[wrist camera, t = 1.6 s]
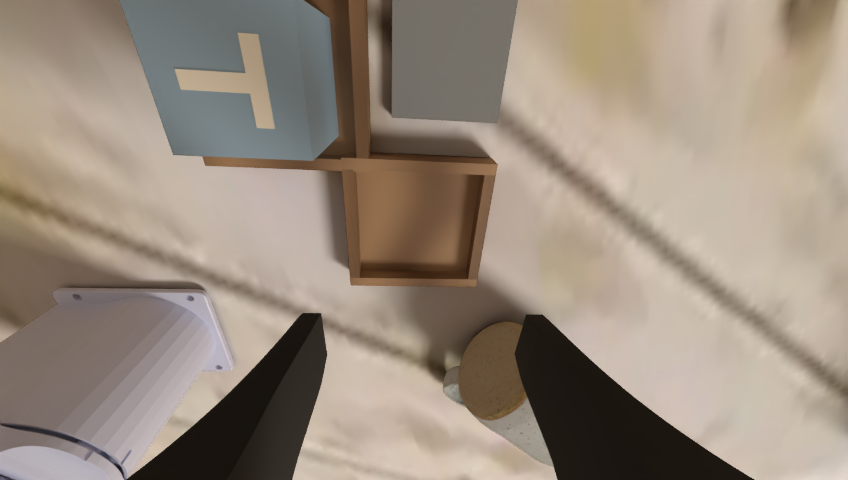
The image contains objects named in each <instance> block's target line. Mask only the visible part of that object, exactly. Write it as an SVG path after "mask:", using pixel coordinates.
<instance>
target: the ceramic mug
mask: <svg viewBox="0 0 848 480" xmlns="http://www.w3.org/2000/svg"><path fill="white" fill-rule="evenodd" d="M522 327H523V325H520V324H518V323H514V322H508V321H504V322H499V323H495V324H493V325H490V326H488V327H486V328H485V329H483V330H482V331H481V332H479V333H478V334H477V335H476V336H475V337H474V338H473V339H472V341H471V342H470V343H469V345H468V346H467V348H466V350H465V352H464V354H463V357H462V359H461V363H460V366H455V367H453V368H451V369H449V370H448V371H447V372H446V375H445V379H444V383H443V391H444V393H445V395H446V396H447V397H448V398H450V399H451V400H452V401H454V402H456V403H458V404H460V405H462V406H464V407H466V408H467V409H468V410H469V411H470V412H471V413H472V414H473V415H474V416H475V417H476V418H477V419H478V420H479V421H480V422H481V423H482V424H483V425H485V426H486V427H488V428H489V429H490V430H492V431H494V432H495V433H497V434H499V435H500V436H502V437H504V438H505V439H506V440H508V441H509V442H511V443H512V444H514V445H515V446H517V447H518V448H519V449H521V450H522V451H524V452H525V453H527V454H528V455H529V456H531V457H532V458H534V459H535V460H537V461H539V462H541V463H543V464H546V465H549V466H553V463H552V460H551V457H550V454H549V451H548V449H547V446H546V443H545V441H544V438H543V436H542V433H541V431H540V428H539V426H538V423H537V421H536V418H535V416H534V413H533V410H532V408H531V405H530V403H529V400H528V398H527V395H526V392H525V390H524V387H523V384H522V382H521V378H520V374H519V371H518V367H517V363H516V358H515V354H514V353H515V350H516V347H517V343H518V340H519V337H520V333H521V330H522Z"/></svg>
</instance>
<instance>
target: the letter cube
mask: <svg viewBox="0 0 848 480" xmlns="http://www.w3.org/2000/svg"><path fill="white" fill-rule="evenodd" d="M120 3H121V6H122V9H123V12H124V15H125V17H126V20H127V23H128V26H129V29H130V32H131V35H132V38H133V40H134V43H135V46H136V49H137V52H138V55H139V58H140V61H141V63H142V66H143V69H144V72H145V75H146V78H147V81H148V84H149V87H150V89H151V92H152V95H153V98H154V101H155V104H156V107H157V110H158V112H159V115H160V118H161V121H162V124H163V127H164V130H165V133H166V136H167V138H168V141H169V144H170V147H171V150H172V153H173V155H186V156H210V157H233V158H257V159H280V160H304V161H314V160H315V159H316V158H317V157H318V156H319V155H320V154H321V153H322V152H323V151H324V150H325V149H326V148H327V147H328V146H329V145H330V144H331V143H332V142H333V141H334V140H335V139H336V138H337V137H338V136H339V132H338V119H337V106H336V93H335V80H334V68H333V55H332V42H331V29H330V18H329V17H327V16H326V15H324V14H323V13H321V12H320V11H319V10H317V9H316V8H314V7H313V6H311V5H310V4H308V3H307V2H305V1H304V0H120Z"/></svg>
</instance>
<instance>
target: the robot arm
mask: <svg viewBox="0 0 848 480" xmlns="http://www.w3.org/2000/svg"><path fill="white" fill-rule="evenodd" d="M52 296H53V298H54V299H55V301H56V302H57V303H58V304H57V305H56V306H54V307H53V308H51V309H50V310H48V311H47V312H45V313H44V314H42V315H41V316H39V317H38V318H36V319H35V320H33V321H32V322H30V323H29V324H27V325H26V326H24V327H23V328H21V329H20V330H18V331H17V332H15V333H14V334H12V335H11V336H9V337H8V338H6V339H5V340H3V341H2V342H0V480H292V478H293V474H294V470H295V467H296V463H297V459H298V456H299V453H300V450H301V447H302V443H303V440H304V437H305V434H306V431H307V428H308V425H309V421H310V418H311V415H312V412H313V409H314V406H315V403H316V399H317V396H318V393H319V390H320V386H321V383H322V378H323V373H324V368H325V363H326V358H327V351H326V344H325V337H324V330H323V323H322V317H321V313H303V314H301V315H300V316H299V317H298V319H297V320H296V321H295V322H294V323H293V325H292V326H291V327H290V328H289V329H288V330H287V332H286V333H285V334H284V335H283V336H282V337H281V339H280V340H279V341H278V342H277V343H276V344H275V345H274V347H273V348H272V349H271V350H270V351H269V352H268V353H267V354H266V355H265V356H264V358H263V359H262V360H261V361H260V362H259V363H258V364H257V365H256V366H255V367H254V368H253V369H252V370H251V371H250V372H249V373H248V375H247V376H246V377H245V378H244V379H243V380H242V381H241V382H240V383H239V384H238V385H237V386H236V387H235V388H234V389H233V390H232V391H231V392H230V393H229V394H228V395H226V396H225V397H224V398H223V399H222V400H221V401H220V402H219V403H218V404H217V405H216V406H215V407H214V408H213V409H211V410H210V411H209V412H208V413H207V414H206V415H205V416H204V417H203V418H201V419H200V420H199V421H198V422H197V423H196V424H195V425H194V426H192V427H191V428H190V429H189V430H188V431H186V432H185V433H184V434H183V435H182V436H180V437H179V438H178V439H177V440H176V441H174V442H173V443H172V444H171V445H170V446H168V447H167V448H166V449H165V450H164V451H162V452H161V453H160V454H159V455H157V456H156V457H155V458H154V459H152V460H151V461H150V462H149V463H147V464H146V465H145V466H143V467H142V468H141V469H140V470H138V471H137V472H135V473H134V474H133V475H132V473H133V472H134V470H135V469H136V467H137V466H138V464H139V463H140V461H141V460H142V458H143V457H144V455H145V454H146V452H147V451H148V450H149V448H150V447H151V445H152V444H153V442H154V441H155V439H156V438H157V436H158V435H159V433H160V432H161V430H162V429H163V427H164V426H165V425H166V423H167V422H168V420H169V419H170V417H171V416H172V414H173V413H174V411H175V410H176V408H177V407H178V405H179V404H180V402H181V401H182V399H183V398H184V397H185V395H186V394H187V392H188V391H189V389H190V388H191V386H192V385H193V383H194V382H195V380H196V379H197V377H198V376H199V374H200V373H201V371H230V370H232V368H233V366H234V362H233V359H232V357H231V354H230V351H229V349H228V346H227V343H226V341H225V338H224V335H223V333H222V330H221V327H220V325H219V322H218V319H217V317H216V314H215V311H214V309H213V306H212V303H211V301H210V298H209V295H208V294H207V292H205V291H204V290H200V289H131V288H58V289H57V290H55V291H54V292H53V293H52ZM191 296H192V297H191ZM514 354H515V358H516V363H517V367H518V371H519V374H520V378H521V382H522V384H523V387H524V390H525V392H526V395H527V398H528V400H529V403H530V405H531V408H532V410H533V413H534V416H535V418H536V421H537V423H538V426H539V428H540V431H541V433H542V436H543V438H544V441H545V443H546V446H547V449H548V451H549V454H550V457H551V460H552V463H553V466H554V469H555V472H556V476H557V479H558V480H754V479H752V478H751V477H749V476H747V475H746V474H744V473H742V472H741V471H739V470H738V469H736V468H734V467H733V466H731V465H730V464H728V463H726V462H725V461H723V460H722V459H720V458H719V457H717V456H716V455H714V454H712V453H711V452H709V451H708V450H706V449H705V448H703V447H702V446H701V445H699V444H698V443H696V442H695V441H693V440H692V439H690V438H689V437H687V436H686V435H684V434H683V433H681V432H680V431H679V430H677V429H676V428H674V427H673V426H672V425H670V424H669V423H667V422H666V421H665V420H663V419H662V418H661V417H659V416H658V415H657V414H655V413H654V412H653V411H651V410H650V409H649V408H647V407H646V406H645V405H643V404H642V403H641V402H639V401H638V400H637V399H636V398H634V397H633V396H632V395H631V394H629V393H628V392H627V391H626V390H625V389H623V388H622V387H621V386H620V385H619V384H617V383H616V382H615V381H614V380H613V379H612V378H610V377H609V376H608V375H607V374H606V373H605V372H603V371H602V370H601V369H600V368H599V367H598V366H597V365H596V364H594V363H593V362H592V361H591V360H590V359H589V358H588V357H587V356H586V355H585V354H584V353H583V352H581V351H580V350H579V349H578V348H577V347H576V346H575V345H574V344H573V343H572V342H571V341H570V340H569V339H568V338H567V337H566V336H565V335H564V334H563V333H561V332H560V331H559V330H558V329H557V328H556V327H555V326H554V325H553V324H552V323H551V322H550V321H549V320H548V319H547V318H546V317H545V316H543V315H526V317H525V320H524V323H523V327H522V330H521V333H520V337H519V340H518V343H517V347H516V350H515V353H514Z"/></svg>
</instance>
